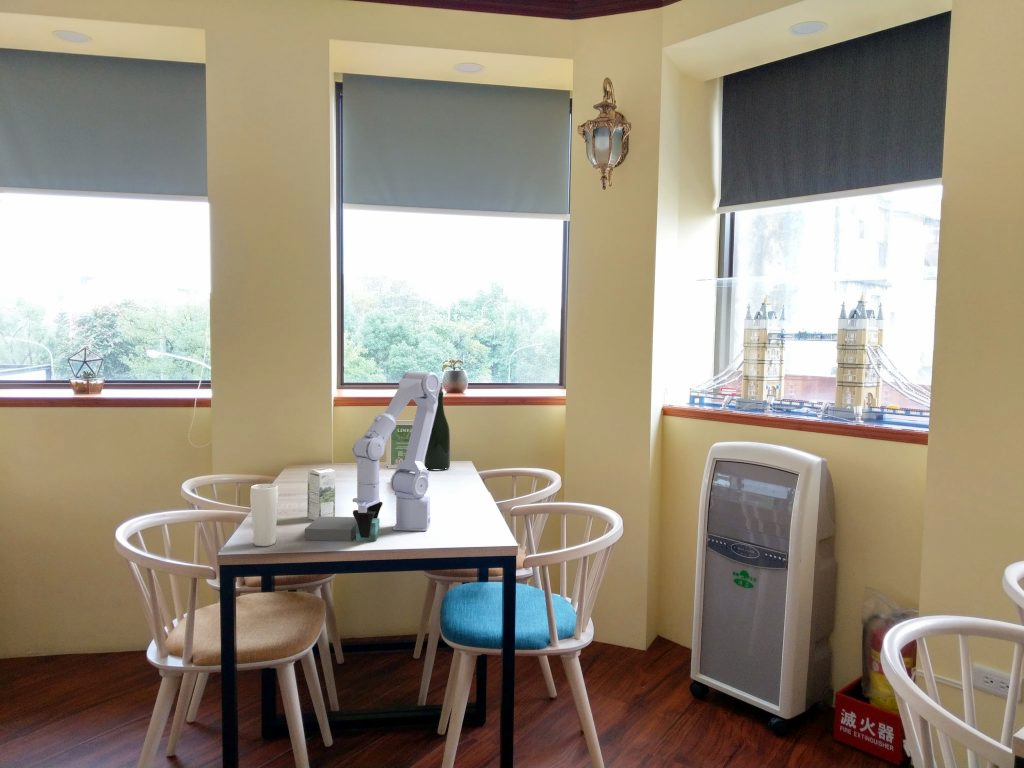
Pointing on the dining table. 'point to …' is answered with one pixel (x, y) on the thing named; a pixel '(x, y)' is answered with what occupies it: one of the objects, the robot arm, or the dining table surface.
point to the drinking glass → (264, 513)
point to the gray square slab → (331, 529)
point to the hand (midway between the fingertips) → (368, 533)
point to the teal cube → (373, 532)
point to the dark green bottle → (439, 440)
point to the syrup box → (321, 493)
